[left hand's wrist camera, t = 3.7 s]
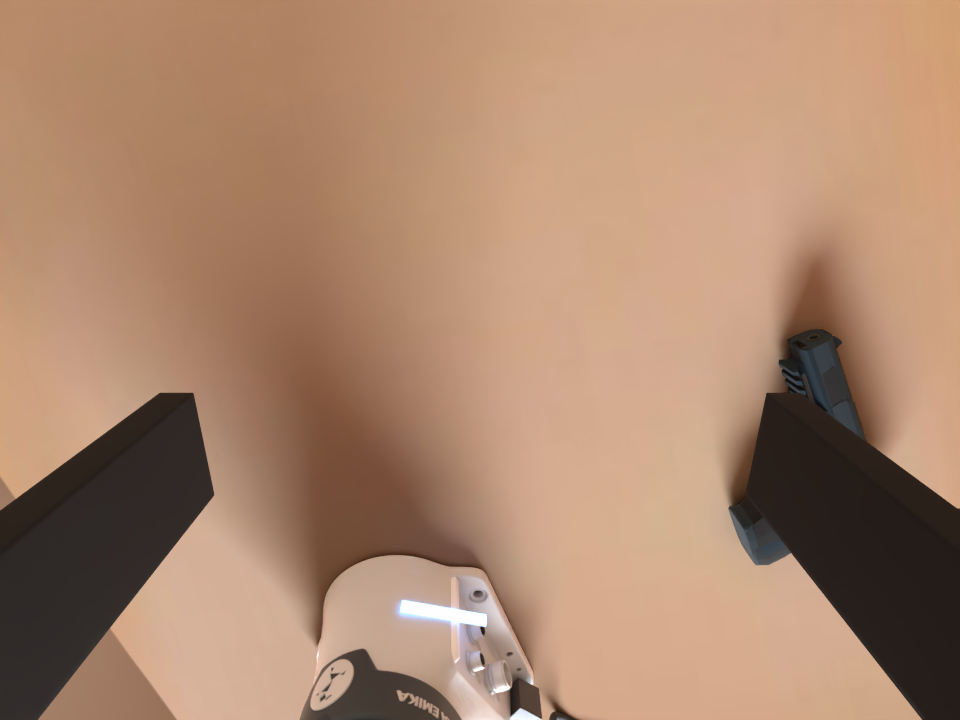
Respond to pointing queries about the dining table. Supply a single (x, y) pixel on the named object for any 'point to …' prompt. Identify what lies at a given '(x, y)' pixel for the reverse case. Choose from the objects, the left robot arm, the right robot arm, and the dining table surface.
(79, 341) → the dining table surface
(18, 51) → the dining table surface
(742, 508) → the handgun
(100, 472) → the left robot arm
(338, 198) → the dining table surface
